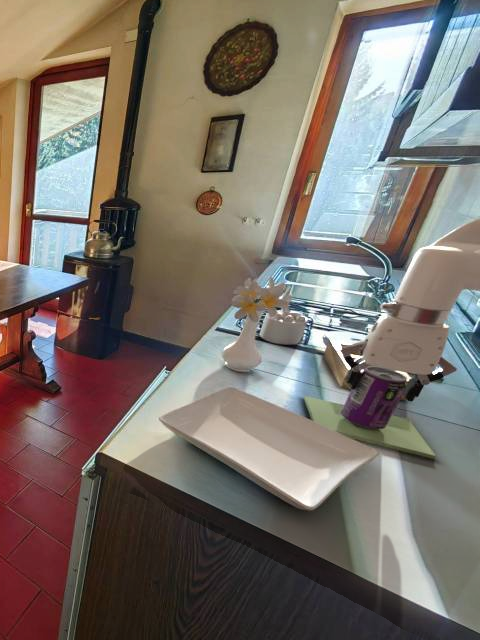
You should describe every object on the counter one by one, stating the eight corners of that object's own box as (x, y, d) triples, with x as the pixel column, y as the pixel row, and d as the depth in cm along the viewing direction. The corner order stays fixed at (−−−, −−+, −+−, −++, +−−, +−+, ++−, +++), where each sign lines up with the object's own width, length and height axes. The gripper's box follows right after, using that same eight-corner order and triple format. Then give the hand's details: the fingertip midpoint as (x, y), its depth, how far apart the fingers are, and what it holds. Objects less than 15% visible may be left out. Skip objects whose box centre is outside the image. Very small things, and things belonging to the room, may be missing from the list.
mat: (407, 422, 85) (408, 419, 85) (434, 459, 74) (436, 456, 74) (303, 398, 94) (304, 395, 94) (314, 428, 83) (315, 425, 83)
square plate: (152, 431, 82) (156, 415, 80) (226, 397, 94) (230, 383, 93) (304, 526, 60) (313, 507, 59) (374, 466, 72) (383, 449, 71)
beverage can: (385, 436, 79) (412, 385, 75) (339, 422, 84) (361, 373, 79) (383, 421, 84) (408, 372, 80) (340, 408, 89) (361, 361, 84)
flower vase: (205, 373, 105) (231, 284, 95) (218, 351, 118) (241, 270, 108) (264, 389, 98) (298, 294, 88) (270, 363, 111) (300, 278, 101)
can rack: (377, 364, 111) (384, 348, 109) (405, 400, 93) (415, 382, 91) (323, 354, 116) (329, 339, 114) (340, 387, 99) (348, 369, 97)
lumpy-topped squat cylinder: (304, 337, 128) (313, 313, 125) (291, 347, 121) (300, 322, 117) (267, 328, 136) (275, 304, 132) (253, 337, 128) (261, 312, 125)
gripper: (361, 310, 75) (327, 388, 82) (496, 329, 67) (446, 413, 74) (351, 300, 81) (320, 374, 88) (474, 316, 73) (429, 395, 80)
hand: (378, 391), depth 81 cm, fingers open, 8 cm apart
